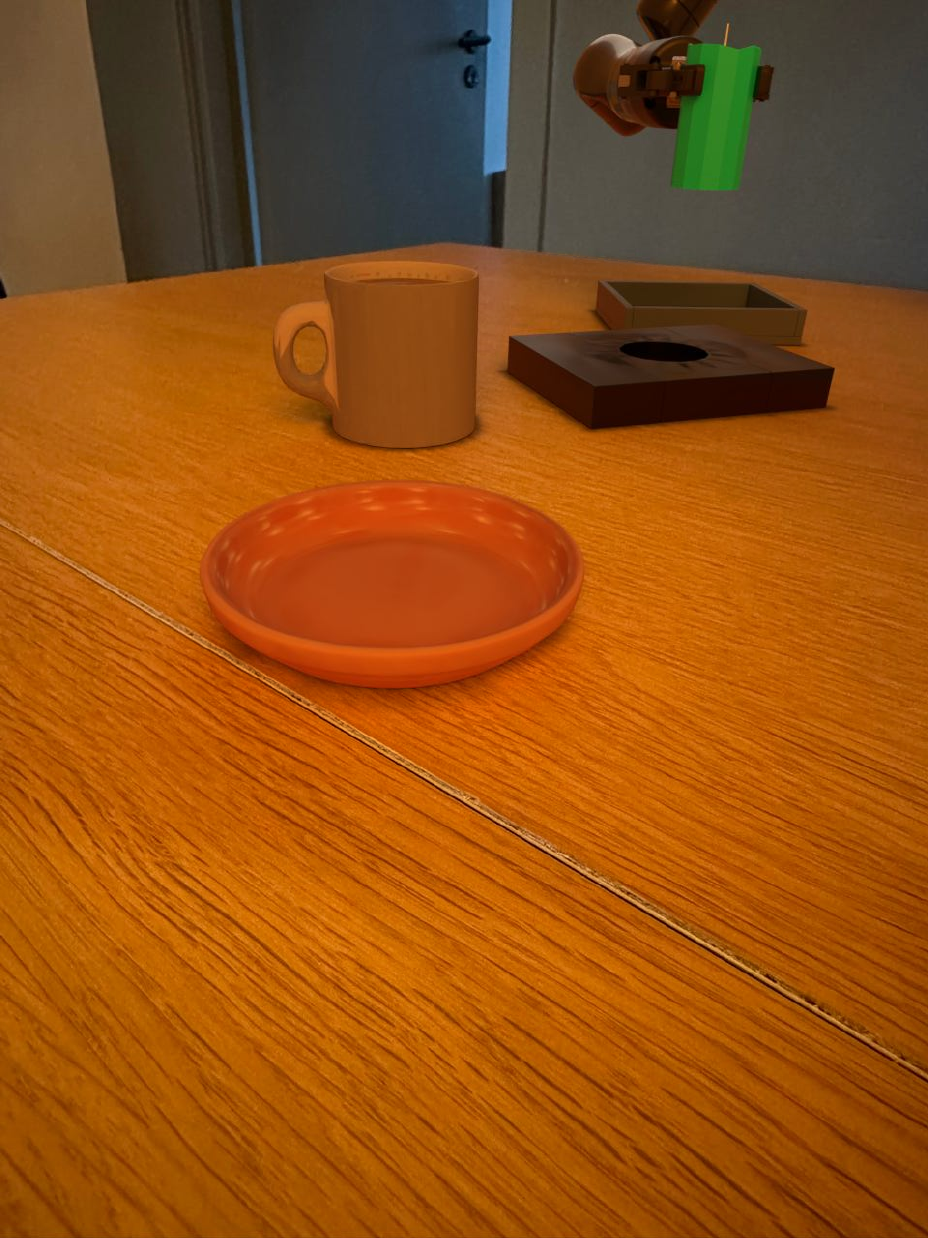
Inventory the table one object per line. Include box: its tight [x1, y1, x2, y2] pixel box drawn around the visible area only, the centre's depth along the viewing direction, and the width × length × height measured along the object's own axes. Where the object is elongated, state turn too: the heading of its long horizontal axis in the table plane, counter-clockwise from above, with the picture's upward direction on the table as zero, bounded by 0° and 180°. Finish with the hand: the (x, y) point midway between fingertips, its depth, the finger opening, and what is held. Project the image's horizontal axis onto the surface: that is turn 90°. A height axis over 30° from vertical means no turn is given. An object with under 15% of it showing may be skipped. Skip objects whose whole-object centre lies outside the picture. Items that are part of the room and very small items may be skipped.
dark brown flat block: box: [506, 324, 836, 430], centre depth 69 cm, size 20×16×3 cm
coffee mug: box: [272, 260, 480, 449], centre depth 58 cm, size 13×10×10 cm
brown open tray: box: [595, 279, 808, 346], centre depth 90 cm, size 18×16×3 cm
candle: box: [669, 23, 762, 191], centre depth 74 cm, size 6×6×12 cm
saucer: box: [199, 478, 586, 689], centre depth 37 cm, size 16×16×3 cm
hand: (732, 80), depth 70 cm, fingers closed on candle, 5 cm apart
